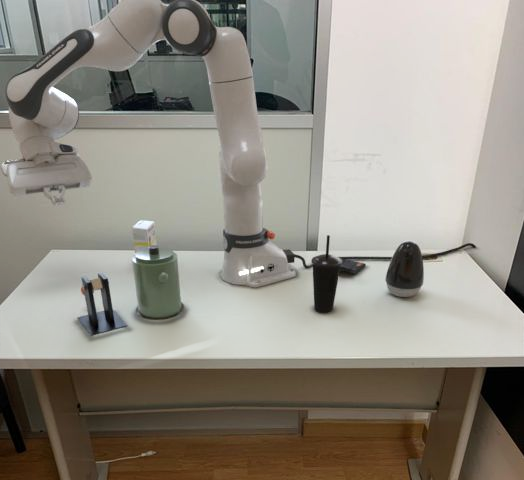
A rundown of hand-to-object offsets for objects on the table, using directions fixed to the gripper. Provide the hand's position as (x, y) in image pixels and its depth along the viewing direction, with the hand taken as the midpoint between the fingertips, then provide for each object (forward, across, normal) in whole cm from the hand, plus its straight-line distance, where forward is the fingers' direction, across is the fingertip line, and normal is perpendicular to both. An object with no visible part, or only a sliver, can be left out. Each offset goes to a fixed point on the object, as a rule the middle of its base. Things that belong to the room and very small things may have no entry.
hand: (59, 203), depth 134 cm
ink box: (+8, +27, +28) cm, 40 cm away
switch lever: (+25, 0, 0) cm, 25 cm away
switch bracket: (+33, 0, +3) cm, 33 cm away
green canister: (+34, +15, +2) cm, 37 cm away
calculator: (+35, +74, -2) cm, 82 cm away
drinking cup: (+49, +52, -13) cm, 73 cm away
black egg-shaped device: (+52, +76, -16) cm, 94 cm away
